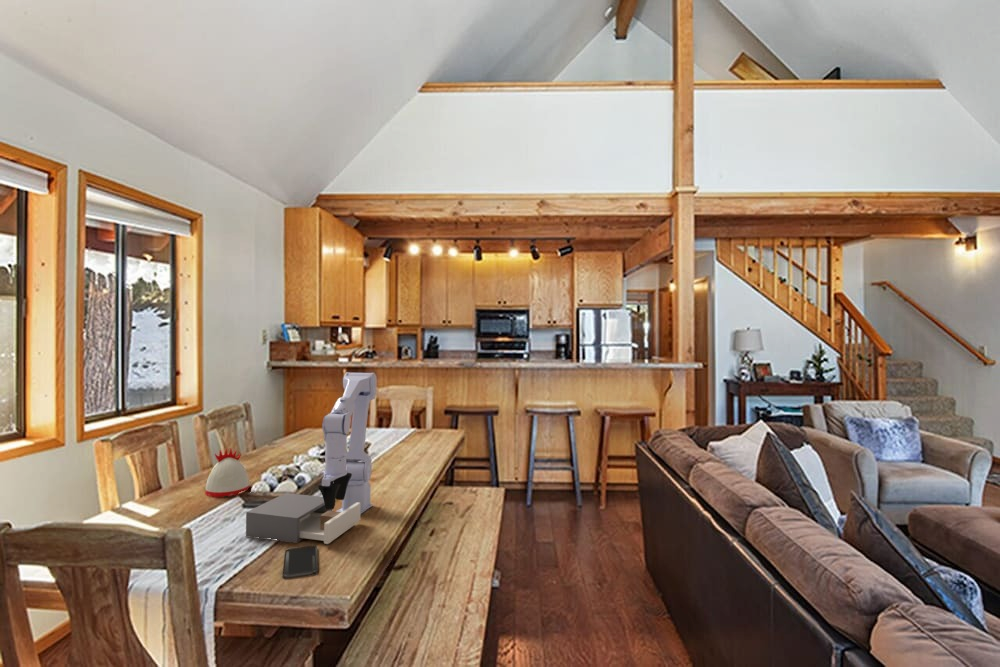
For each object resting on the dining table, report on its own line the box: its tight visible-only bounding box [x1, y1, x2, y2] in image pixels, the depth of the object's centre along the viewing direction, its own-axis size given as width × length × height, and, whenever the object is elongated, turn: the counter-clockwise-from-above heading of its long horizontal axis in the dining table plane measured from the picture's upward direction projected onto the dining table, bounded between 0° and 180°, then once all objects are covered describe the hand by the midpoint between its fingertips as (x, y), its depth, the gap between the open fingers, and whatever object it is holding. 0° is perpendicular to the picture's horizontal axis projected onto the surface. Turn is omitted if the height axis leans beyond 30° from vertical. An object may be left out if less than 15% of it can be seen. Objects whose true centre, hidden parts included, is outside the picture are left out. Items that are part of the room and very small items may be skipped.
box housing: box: [245, 492, 333, 544], centre depth 147 cm, size 16×17×7 cm
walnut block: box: [320, 510, 341, 530], centre depth 144 cm, size 4×4×4 cm
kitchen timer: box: [204, 448, 251, 498], centre depth 179 cm, size 14×14×15 cm
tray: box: [299, 502, 361, 545], centre depth 145 cm, size 16×17×5 cm
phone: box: [282, 545, 319, 580], centre depth 126 cm, size 8×1×15 cm
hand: (335, 504), depth 143 cm, fingers open, 7 cm apart
